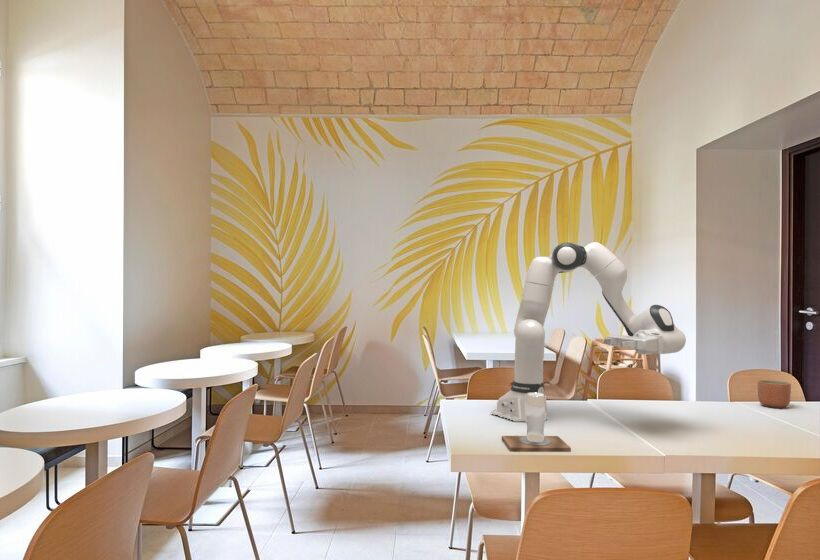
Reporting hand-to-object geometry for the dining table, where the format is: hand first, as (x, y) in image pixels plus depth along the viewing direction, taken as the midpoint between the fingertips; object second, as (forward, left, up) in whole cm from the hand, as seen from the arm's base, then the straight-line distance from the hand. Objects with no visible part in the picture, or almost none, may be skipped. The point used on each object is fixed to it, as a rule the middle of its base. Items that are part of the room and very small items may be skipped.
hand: (612, 342), depth 198 cm
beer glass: (-9, -33, -31) cm, 46 cm away
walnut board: (-9, -33, -32) cm, 47 cm away
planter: (+21, +101, -32) cm, 108 cm away
